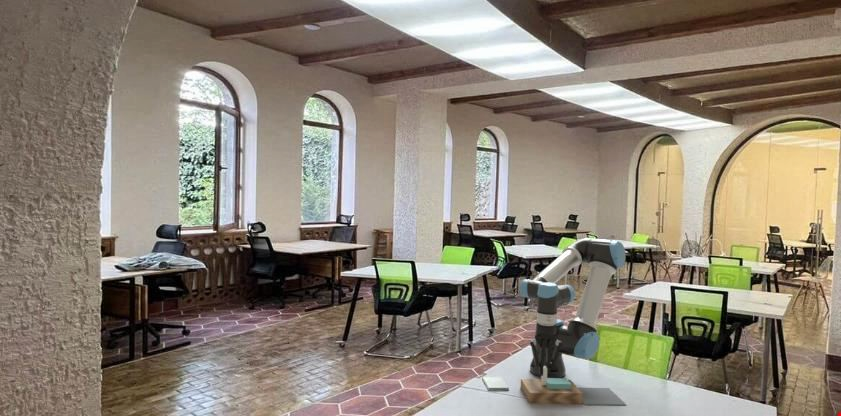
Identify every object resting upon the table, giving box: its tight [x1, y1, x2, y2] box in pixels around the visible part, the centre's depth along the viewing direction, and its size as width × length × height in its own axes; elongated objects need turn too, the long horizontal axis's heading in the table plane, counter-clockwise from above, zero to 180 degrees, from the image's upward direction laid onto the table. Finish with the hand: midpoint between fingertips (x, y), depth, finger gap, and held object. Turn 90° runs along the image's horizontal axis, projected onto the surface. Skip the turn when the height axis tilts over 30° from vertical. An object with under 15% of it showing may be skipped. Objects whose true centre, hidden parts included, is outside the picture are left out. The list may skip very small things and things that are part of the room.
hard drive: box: [481, 376, 510, 392], centre depth 216 cm, size 2×8×12 cm
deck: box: [519, 378, 583, 405], centre depth 205 cm, size 20×14×4 cm
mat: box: [577, 387, 627, 406], centre depth 207 cm, size 16×16×1 cm
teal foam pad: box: [545, 377, 571, 389], centre depth 205 cm, size 9×6×2 cm, turn 92°
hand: (543, 383), depth 205 cm, fingers closed
